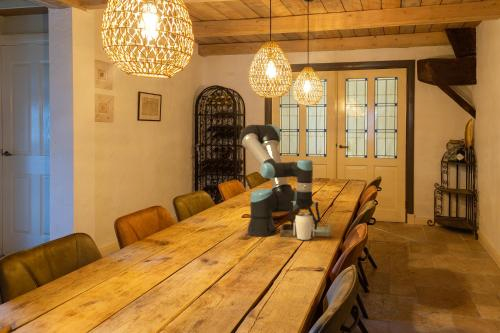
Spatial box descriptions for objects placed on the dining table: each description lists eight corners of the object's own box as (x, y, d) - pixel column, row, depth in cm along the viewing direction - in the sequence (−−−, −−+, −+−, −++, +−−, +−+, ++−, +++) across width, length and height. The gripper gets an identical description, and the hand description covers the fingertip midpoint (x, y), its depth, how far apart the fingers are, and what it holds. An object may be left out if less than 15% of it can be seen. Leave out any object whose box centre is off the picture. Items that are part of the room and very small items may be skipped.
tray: (297, 235, 232) (297, 223, 231) (298, 229, 245) (298, 218, 244) (331, 236, 229) (331, 224, 229) (330, 230, 242) (330, 219, 242)
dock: (280, 236, 232) (280, 230, 232) (282, 229, 248) (282, 223, 247) (315, 237, 229) (315, 231, 229) (315, 230, 245) (315, 224, 245)
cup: (312, 241, 220) (312, 217, 218) (293, 240, 221) (294, 216, 220) (313, 236, 228) (313, 213, 227) (295, 235, 230) (296, 212, 229)
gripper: (282, 191, 220) (281, 236, 223) (326, 192, 217) (325, 238, 220) (283, 189, 228) (282, 232, 230) (326, 190, 225) (325, 234, 227)
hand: (303, 235), depth 225 cm, fingers closed on cup, 9 cm apart
